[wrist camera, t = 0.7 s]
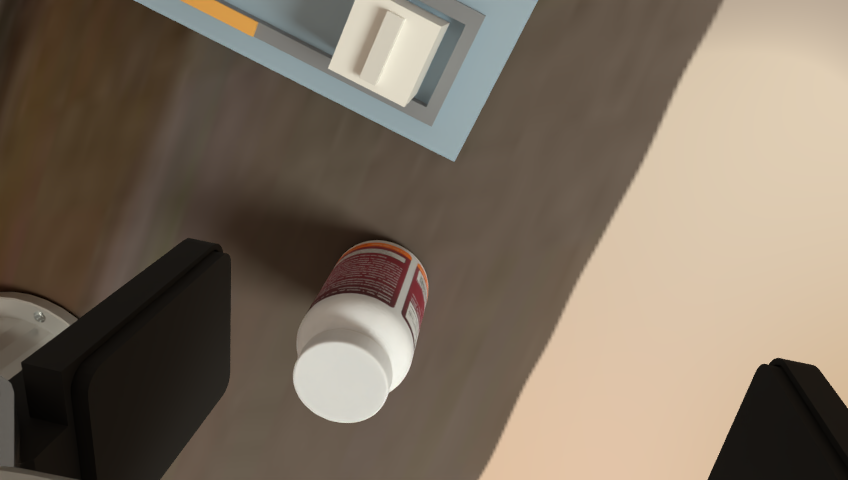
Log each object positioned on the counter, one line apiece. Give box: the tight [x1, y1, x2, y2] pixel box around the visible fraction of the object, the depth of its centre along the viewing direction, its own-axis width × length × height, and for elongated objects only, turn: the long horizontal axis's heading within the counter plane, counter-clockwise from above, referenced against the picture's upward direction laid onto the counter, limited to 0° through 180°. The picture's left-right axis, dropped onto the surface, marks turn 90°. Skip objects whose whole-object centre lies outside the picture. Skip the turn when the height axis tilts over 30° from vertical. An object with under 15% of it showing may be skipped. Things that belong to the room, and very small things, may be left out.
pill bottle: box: [293, 240, 428, 423], centre depth 34 cm, size 6×6×11 cm
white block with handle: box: [328, 0, 450, 107], centre depth 30 cm, size 4×4×5 cm
